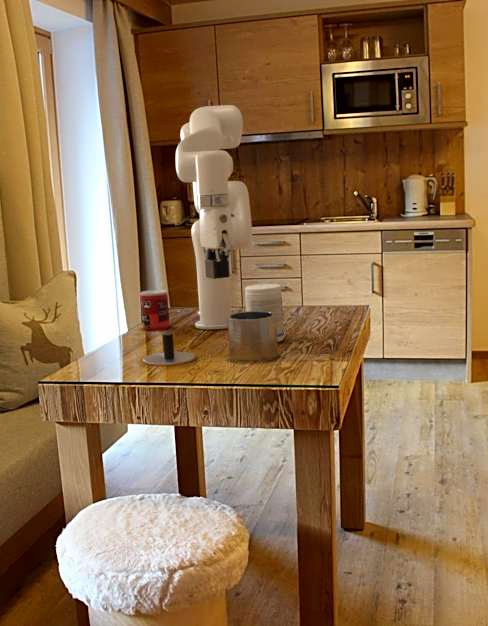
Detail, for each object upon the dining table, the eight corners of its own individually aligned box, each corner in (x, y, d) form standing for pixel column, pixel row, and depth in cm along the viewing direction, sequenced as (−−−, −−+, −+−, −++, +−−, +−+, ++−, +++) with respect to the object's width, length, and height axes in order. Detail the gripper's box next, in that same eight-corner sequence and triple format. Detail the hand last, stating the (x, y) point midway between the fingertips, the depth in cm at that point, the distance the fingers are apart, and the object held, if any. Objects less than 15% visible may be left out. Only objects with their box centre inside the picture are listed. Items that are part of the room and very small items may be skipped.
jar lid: (135, 361, 205) (133, 333, 204) (181, 353, 211) (179, 326, 210) (156, 371, 194) (153, 342, 193) (204, 362, 200) (202, 334, 198)
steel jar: (221, 357, 204) (218, 315, 202) (261, 350, 209) (259, 309, 207) (244, 366, 194) (242, 322, 192) (286, 358, 199) (284, 315, 197)
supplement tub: (291, 340, 217) (289, 285, 215) (263, 346, 212) (260, 290, 210) (268, 335, 226) (265, 282, 223) (240, 341, 220) (237, 287, 218)
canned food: (142, 326, 250) (139, 290, 248) (169, 324, 250) (166, 288, 248) (143, 331, 242) (140, 294, 240) (170, 329, 243) (167, 292, 241)
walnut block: (205, 277, 206) (204, 259, 205) (221, 275, 208) (220, 258, 207) (213, 279, 202) (212, 261, 201) (229, 277, 204) (228, 259, 203)
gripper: (243, 201, 196) (247, 277, 199) (211, 201, 211) (216, 272, 214) (215, 203, 193) (219, 281, 196) (185, 203, 208) (189, 275, 211)
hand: (217, 275), depth 205 cm, fingers closed on walnut block, 4 cm apart
